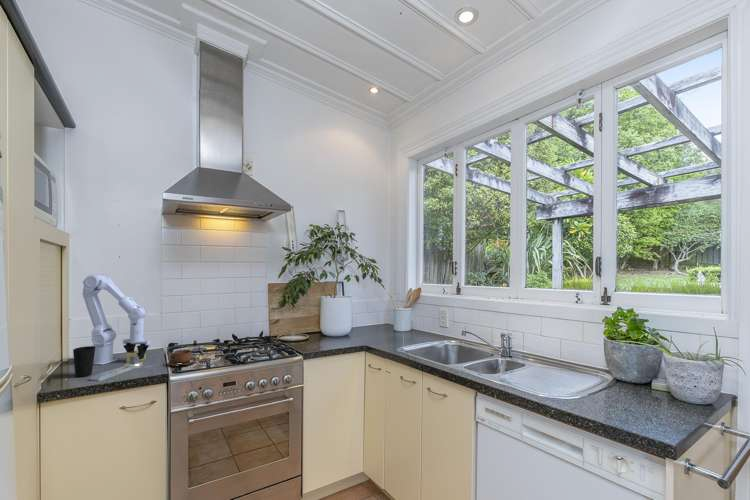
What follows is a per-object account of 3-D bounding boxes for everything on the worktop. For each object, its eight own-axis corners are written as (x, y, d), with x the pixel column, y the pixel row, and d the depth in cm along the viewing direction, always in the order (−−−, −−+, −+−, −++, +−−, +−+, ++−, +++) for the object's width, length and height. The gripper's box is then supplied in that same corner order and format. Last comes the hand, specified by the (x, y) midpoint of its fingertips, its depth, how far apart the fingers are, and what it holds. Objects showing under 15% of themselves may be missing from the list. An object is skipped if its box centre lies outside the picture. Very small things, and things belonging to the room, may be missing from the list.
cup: (89, 377, 149) (90, 350, 150) (68, 379, 147) (69, 351, 147) (97, 372, 157) (98, 345, 157) (77, 373, 154) (78, 346, 155)
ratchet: (88, 380, 146) (88, 368, 147) (134, 364, 169) (134, 354, 169) (101, 381, 145) (102, 369, 145) (146, 365, 167) (146, 355, 167)
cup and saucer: (173, 369, 162) (174, 356, 162) (165, 364, 170) (165, 352, 170) (200, 364, 171) (200, 351, 171) (190, 359, 179) (191, 347, 179)
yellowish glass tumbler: (126, 362, 171) (126, 352, 172) (136, 359, 177) (136, 349, 177) (135, 363, 170) (136, 353, 170) (145, 360, 176) (145, 350, 176)
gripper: (155, 330, 177) (154, 357, 176) (131, 329, 179) (130, 355, 179) (144, 333, 170) (143, 361, 169) (119, 332, 172) (118, 359, 172)
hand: (136, 358), depth 174 cm, fingers closed on yellowish glass tumbler, 6 cm apart
